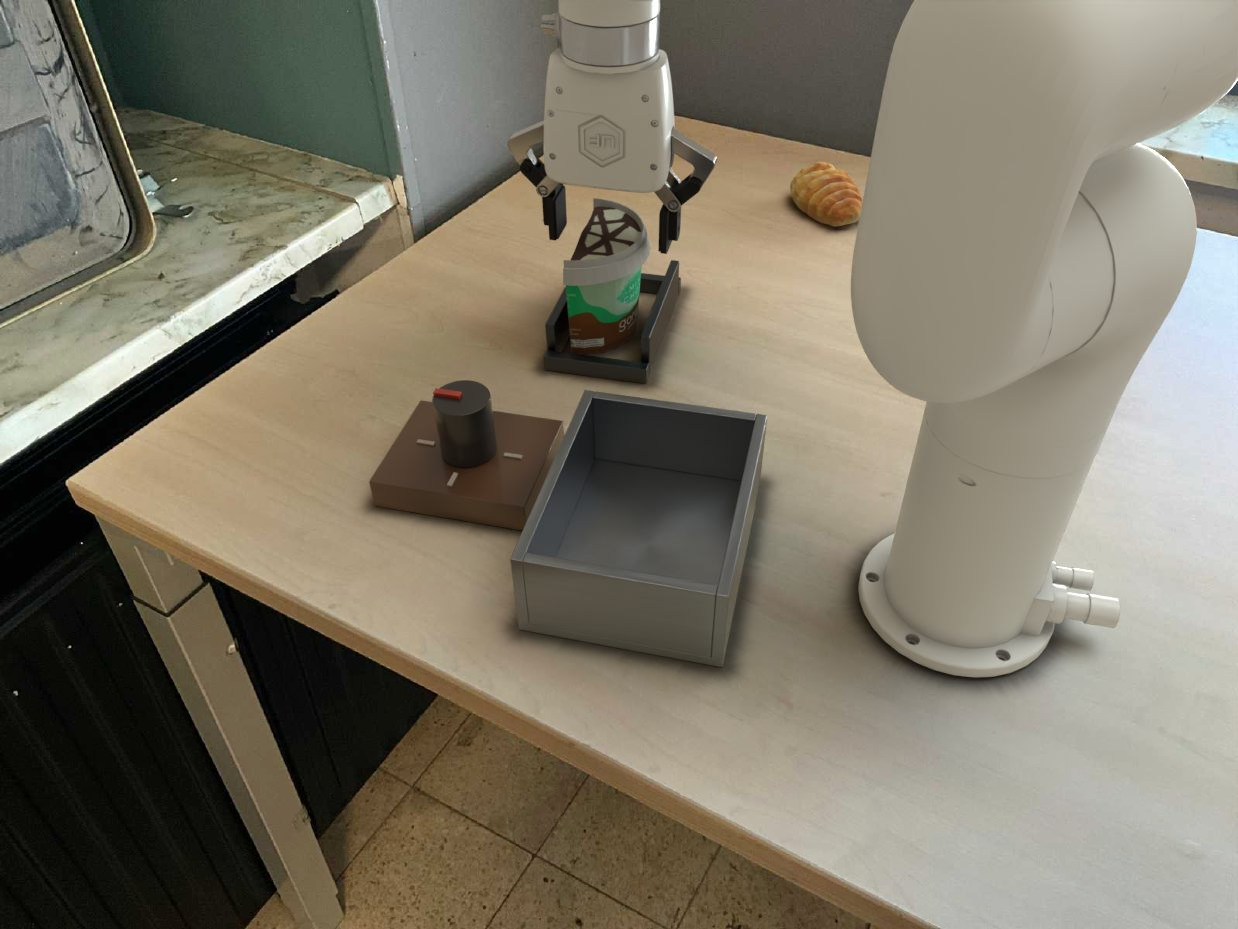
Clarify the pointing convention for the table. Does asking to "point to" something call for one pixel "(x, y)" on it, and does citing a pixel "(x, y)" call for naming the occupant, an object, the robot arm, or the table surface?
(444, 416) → the tap knob
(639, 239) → the food container
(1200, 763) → the table surface
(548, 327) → the dish rack
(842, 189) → the pastry
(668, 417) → the grey open box
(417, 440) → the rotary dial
